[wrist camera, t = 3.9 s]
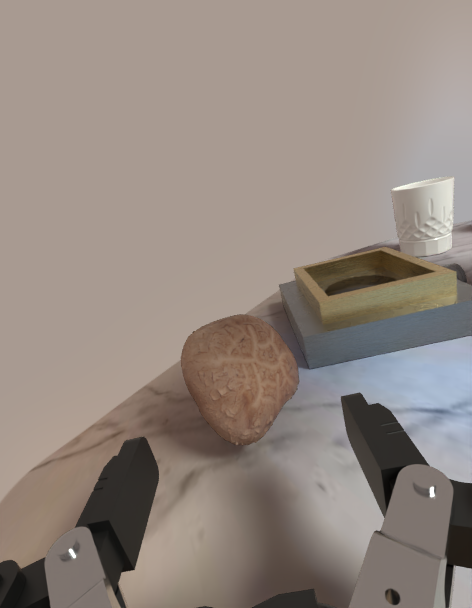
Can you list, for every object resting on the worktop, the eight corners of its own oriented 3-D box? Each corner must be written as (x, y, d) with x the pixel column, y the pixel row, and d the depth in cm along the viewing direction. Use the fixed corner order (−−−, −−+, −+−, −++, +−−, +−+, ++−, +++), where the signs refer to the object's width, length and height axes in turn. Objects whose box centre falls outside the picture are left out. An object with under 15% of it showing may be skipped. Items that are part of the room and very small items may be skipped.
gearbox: (404, 270, 44) (401, 234, 42) (522, 324, 26) (524, 263, 24) (280, 299, 45) (273, 264, 43) (309, 369, 27) (298, 314, 25)
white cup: (459, 241, 50) (457, 173, 47) (452, 256, 44) (449, 180, 41) (403, 246, 55) (398, 185, 52) (390, 260, 50) (384, 193, 46)
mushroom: (285, 386, 26) (264, 291, 23) (337, 428, 20) (316, 310, 18) (196, 429, 23) (161, 330, 21) (227, 491, 18) (185, 365, 15)
